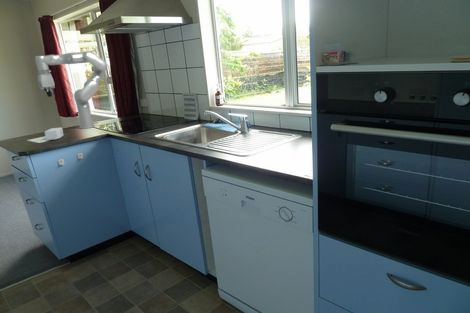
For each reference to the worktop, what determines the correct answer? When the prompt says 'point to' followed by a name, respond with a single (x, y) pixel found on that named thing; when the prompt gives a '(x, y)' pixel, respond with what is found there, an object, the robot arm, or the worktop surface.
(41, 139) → the mat
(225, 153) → the worktop surface
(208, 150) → the worktop surface
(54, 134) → the small box
